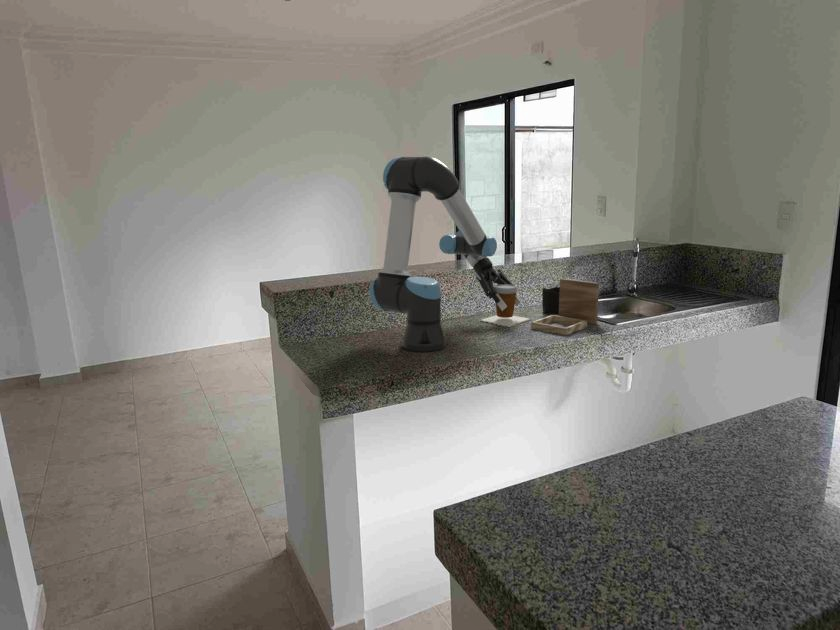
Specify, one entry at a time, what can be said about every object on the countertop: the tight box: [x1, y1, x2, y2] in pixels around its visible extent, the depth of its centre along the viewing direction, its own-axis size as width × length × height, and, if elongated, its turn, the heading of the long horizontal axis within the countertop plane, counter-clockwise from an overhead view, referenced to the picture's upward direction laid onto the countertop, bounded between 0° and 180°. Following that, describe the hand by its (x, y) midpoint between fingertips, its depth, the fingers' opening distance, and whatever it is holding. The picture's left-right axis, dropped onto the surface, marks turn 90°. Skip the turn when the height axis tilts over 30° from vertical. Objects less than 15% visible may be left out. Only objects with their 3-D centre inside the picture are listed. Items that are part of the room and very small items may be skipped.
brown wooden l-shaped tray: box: [530, 278, 600, 336], centre depth 230 cm, size 22×16×16 cm
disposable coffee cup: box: [494, 284, 518, 318], centre depth 240 cm, size 10×10×12 cm
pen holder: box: [541, 286, 560, 315], centre depth 253 cm, size 9×9×10 cm
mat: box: [480, 314, 531, 328], centre depth 242 cm, size 14×14×1 cm
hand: (511, 306), depth 238 cm, fingers closed on disposable coffee cup, 9 cm apart
